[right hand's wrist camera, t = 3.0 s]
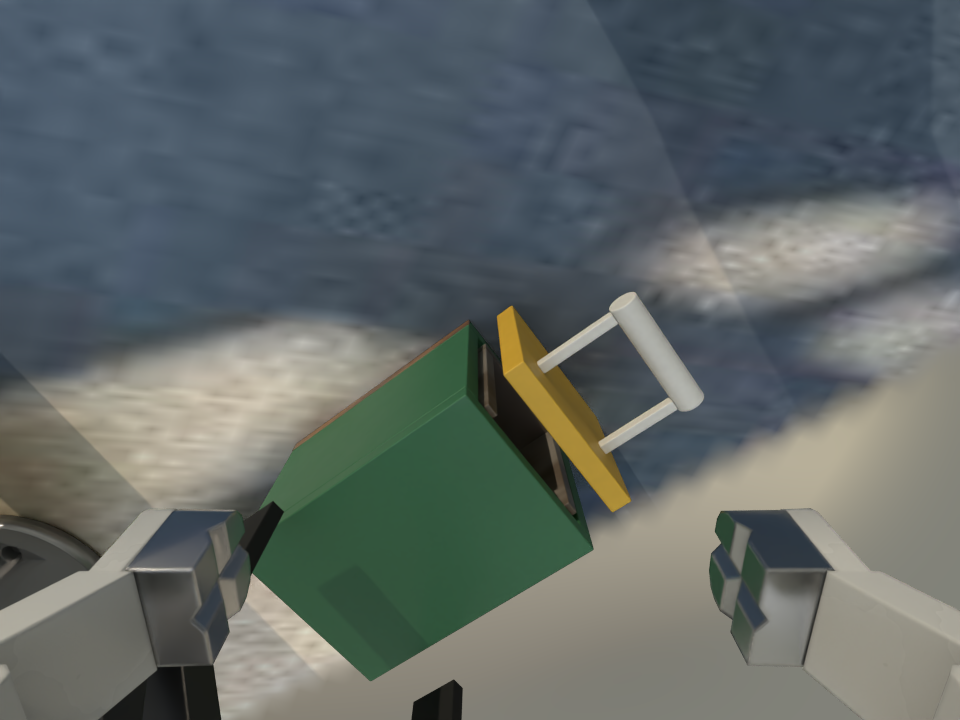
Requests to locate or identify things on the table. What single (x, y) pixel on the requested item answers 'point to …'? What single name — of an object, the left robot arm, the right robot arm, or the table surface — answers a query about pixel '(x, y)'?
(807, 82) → the table surface
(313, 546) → the cabinet
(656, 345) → the drawer
